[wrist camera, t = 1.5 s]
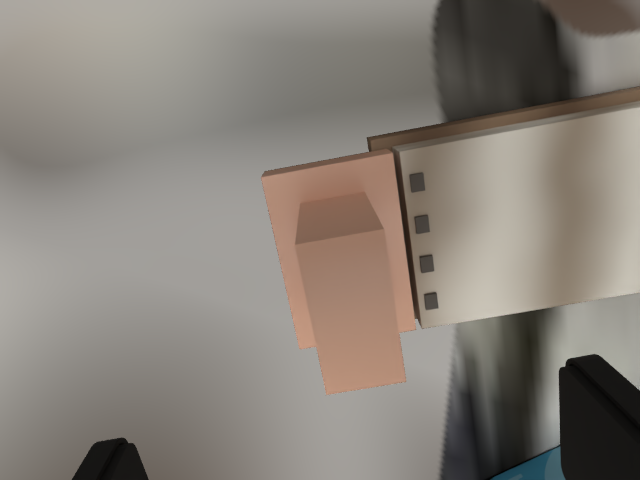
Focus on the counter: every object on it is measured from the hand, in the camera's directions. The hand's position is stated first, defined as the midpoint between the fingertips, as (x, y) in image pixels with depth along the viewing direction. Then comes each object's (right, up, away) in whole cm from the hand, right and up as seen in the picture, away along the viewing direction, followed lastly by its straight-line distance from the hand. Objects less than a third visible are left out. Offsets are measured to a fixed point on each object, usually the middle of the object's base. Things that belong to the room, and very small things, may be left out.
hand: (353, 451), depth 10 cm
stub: (0, +4, +13) cm, 14 cm away
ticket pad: (+11, +7, +15) cm, 20 cm away
